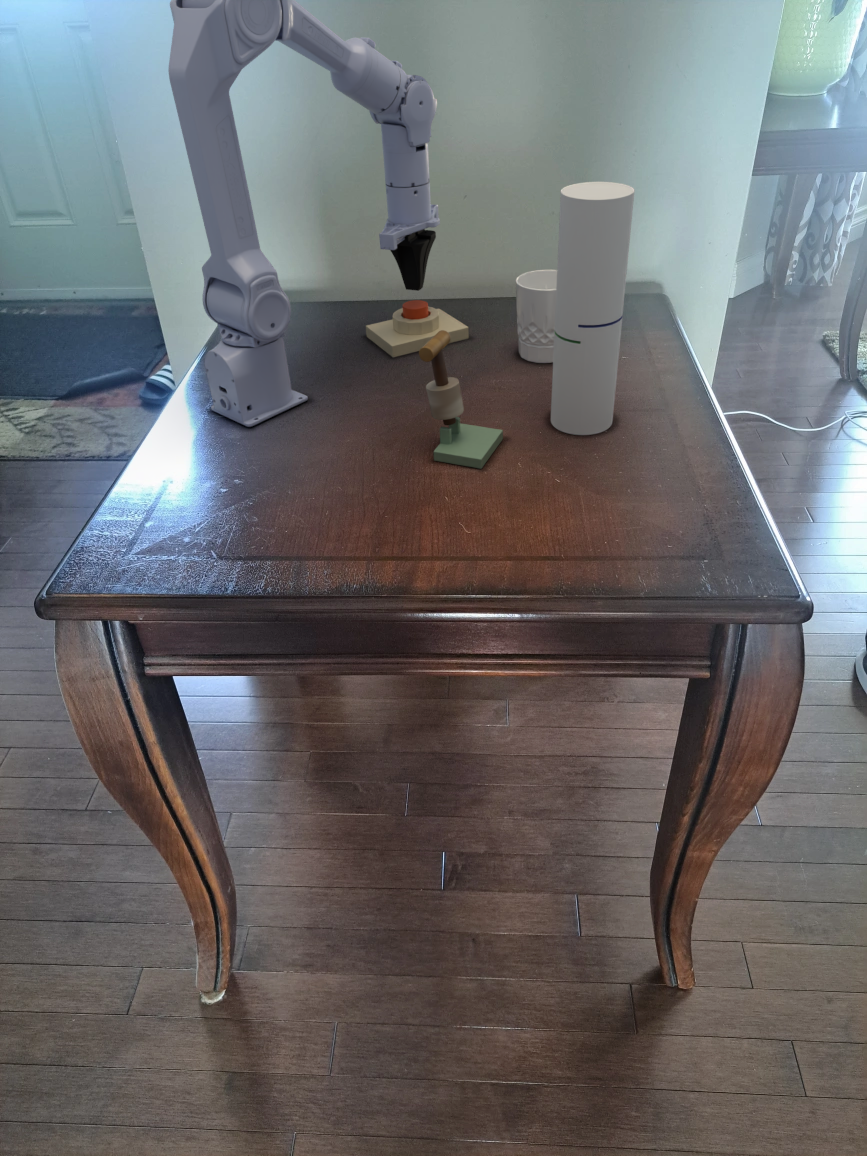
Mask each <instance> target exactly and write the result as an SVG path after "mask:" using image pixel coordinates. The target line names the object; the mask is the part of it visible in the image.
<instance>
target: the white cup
mask: <svg viewBox="0 0 867 1156" xmlns="http://www.w3.org/2000/svg"><path fill="white" fill-rule="evenodd" d="M556 287H557V269H537V270H530V271H527V272H523V273H521V274H520V275H518V276H517V277H516V278H515V301H516V302H515V303H516V305H515V306H516V325H517V328H516V329H517V337H518V339H517V341H518V354H519V356H520V358H522V359H523V360H525V361H527V362H531V363H536V364H550V363H551V364H553V354H554V332H555V309H556Z"/></svg>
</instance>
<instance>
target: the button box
mask: <svg viewBox="0 0 867 1156" xmlns="http://www.w3.org/2000/svg"><path fill="white" fill-rule="evenodd" d="M428 314H429V316H428V317H426V318H423V319H414V320H411V319H406V318H403V307H401V308H399V309H397V310H395V311H394V312H393V313H392V319H388V320H383V321H379V322H375V323H370V324H367V325H365V334H366V338H368V339H369V340H370V341H371V342H373V343H374V344H375V345H377V347H378V348H380V349H381V350H382V351H384V352H385V353H386V354H388V355H389V356H390V357H392V358H397V357H401V356H404V355H408V354H413V353H417V352H419V350H420V349H421V348H422V347H423V346H424V345H425V344H426V343H427V342H428V341H429V340H430V339H431V338H433V337H434V336H435V335H436V334H437V333H438V332H439V331H441V330H444V331H447V332H448V333H449V335H450V338H451V339H450V342H449V343H448V344H447V345H449V344H452V343H456V342H461V341H464V340H468V339H469V338H470V333H469V332H470V331H469V329H470V328H469V326H467V325H466V324H464V323H463V322H461V321H460V320H458V319H457V318H455V317H453V316H452V315H450V314H448V313H447V312H445V311H444V310H442V309H440V308H435V307H432V306H428Z"/></svg>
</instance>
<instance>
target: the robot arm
mask: <svg viewBox="0 0 867 1156" xmlns="http://www.w3.org/2000/svg"><path fill="white" fill-rule="evenodd" d="M169 7H170V11H171V16H172V21H173V29H172V37H171V44H170V45H171V46H170V53H169V61H168V78H169V84H170V87H171V91H172V95H173V99H174V104H175V108H176V112H177V117H178V122H179V125H180V129H181V133H182V137H183V143H184V146H185V150H186V154H187V158H188V163H189V167H190V172H191V176H192V180H193V183H194V188H195V192H196V196H197V199H198V204H199V208H200V209H199V210H200V214H201V217H202V222H203V226H204V231H205V234H206V238H207V243H208V246H209V251H210V256H209V258H208V259H207V260H206V261H205V262H204V264H203V265H202V267H201V271H202V276H203V282H204V283H203V291H202V299H201V300H202V305H203V309H204V312H205V314H206V315H207V317H208V318H209V319H210V320H211V321H212V322H214V323H216V324H217V328H218V333H219V335H220V338H221V339H220V341H219V342H218V343H217V345H216V346H215V347H213V348H212V349H210V350H208V352H206V353H205V354H204V362H203V363H204V369H205V375H206V378H207V383H208V387H209V391H210V395H211V400H212V405H211V406H210V410H211V411H213V412H214V413H217V414H219V415H221V416H223V417H226V418H227V419H230V420H232V421H235V422H236V423H238V424H240V425H243V426H245V427H247V428H251V427H253V426H256V425H258V424H260V423H263V422H264V421H266V420H268V419H270V418H272V417H275V416H277V415H280V414H282V413H283V412H286V411H288V410H289V409H292V408H294V407H296V406H298V405H300V404H302V403H304V402H306V401H308V399H309V398H308V395H305V394H303V393H301V392H299V391H296V390H294V389H292V383H291V377H290V370H289V365H288V358H287V352H286V346H285V342H284V341H285V340H284V337H286V334H285V332H286V330H287V328H288V327H289V323H290V322H291V321H290V320H291V315H292V307H291V302H290V299H289V297H288V295H287V294H286V293H285V292H286V291H284V290H283V288H282V286H281V284H280V280H279V276H278V272H277V269H276V268H275V267H274V266H273V264H272V263H271V262H270V261H269V259H268V257H266V256H265V255H266V254H264V252H263V251H262V249H261V245H260V241H259V240H260V239H259V236H258V230H257V225H256V221H255V216H254V211H253V210H254V209H253V206H252V205H253V204H252V200H251V195H250V191H249V185H248V182H247V176H246V171H245V166H244V160H243V156H242V150H241V145H240V140H239V136H238V131H237V126H236V121H235V116H234V111H233V105H232V101H231V96H230V89H231V87H232V86H233V84H234V83H235V81H236V80H237V78H238V76H239V75H240V74H241V72H242V70H243V69H245V67H247V66H248V65H249V64H250V63H252V62H253V61H254V60H255V59H257V58H258V57H259V56H260V55H261V54H263V53H264V52H265V51H266V50H268V49H269V48H270V46H272V45H273V43H274V42H275V41H277V42H279V43H281V44H283V45H284V46H286V47H287V48H289V49H291V50H292V51H294V52H296V53H298V54H299V55H302V56H303V57H305V58H306V59H308V60H310V61H312V62H313V63H315V64H317V65H318V66H320V67H321V68H324V69H325V70H327V71H329V74H330V80H331V83H332V85H333V87H334V88H335V89H336V91H338V92H340V93H341V94H343V95H344V96H346V97H348V98H349V99H351V100H352V101H354V102H355V103H357V104H358V105H360V106H362V107H364V108H365V109H366V110H368V112H369V115H370V116H371V119H372V120H373V123H375V124H379V125H380V131H381V144H382V155H383V157H382V158H383V169H384V181H385V194H386V195H385V196H386V206H387V208H386V209H387V219H386V221H385V224H384V227H383V229H382V231H381V232H380V233H379V234H378V236H379V248H380V250H385V251H390V252H391V255H392V256H393V258H394V260H395V262H396V264H397V266H398V270H399V272H400V275H401V279H402V282H403V286H404V287H405V290H407V291H417V292H418V291H421V290H422V289H423V288H424V283H425V277H426V272H427V266H428V260H429V257H430V253H431V251H432V247H433V244H434V243H435V240H436V239H437V234H436V233H437V232H436V230H430V228H432V229H433V228H437V227H438V226H439V225H441V219H440V217H439V205H438V204H432V199H431V197H432V196H431V178H430V158H429V157H430V155H429V143H430V142H431V138H432V124H433V121H434V118H435V116H436V113H437V107H438V100H437V98H435V96H434V92H433V89H432V87H431V86H430V84H429V82H428V81H427V79H425V78H424V77H423V76H421V75H417V74H407V73H406V71H405V70H404V69H403V64H402V63H401V62H400V61H398V60H394V59H393V60H392V59H391V60H390V58H388V57H386V56H385V55H384V54H382V53H381V52H380V51H378V50H377V49H375V48H376V45H377V43H376V41H374V40H373V39H372V38H370V37H364V36H362V37H351V38H348V39H346V40H344V39H343V38H342V37H340V36H339V35H338V34H336V33H335V32H334V31H333V30H332V29H330V28H329V27H328V26H327V25H326V24H324V23H323V22H322V21H321V20H320V19H318V18H317V17H316V16H314V14H312V13H311V12H310V11H308V10H307V9H306V8H305V7H303V6H302V5H301V4H300V3H299V2H297V1H296V0H170V1H169ZM428 228H429V229H428Z"/></svg>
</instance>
